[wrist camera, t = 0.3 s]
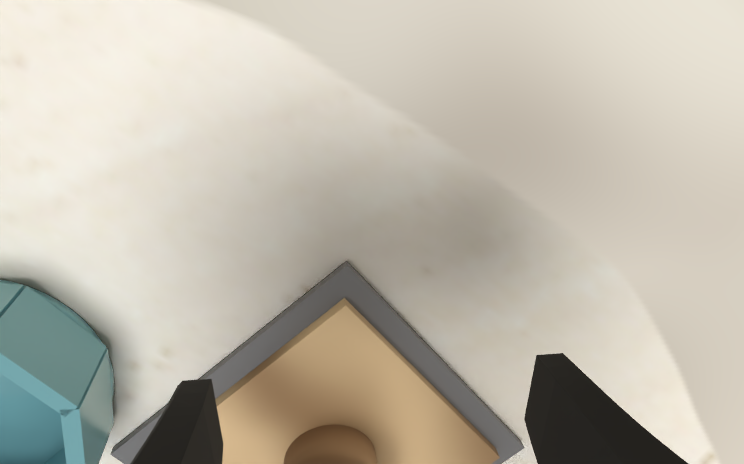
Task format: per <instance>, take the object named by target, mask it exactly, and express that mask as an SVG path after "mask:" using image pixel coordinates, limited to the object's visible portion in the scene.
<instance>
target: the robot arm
mask: <svg viewBox="0 0 744 464" xmlns="http://www.w3.org/2000/svg"><path fill="white" fill-rule="evenodd" d="M525 423H526V426H527V430H528V433H529V437H530V440H531V444H532V447H533V450H534V453H535V456H536V459H537V463H538V464H688V463H687V462H685V461H684V460H683V459H682V458H680V457H679V456H678V455H676V454H675V453H674V452H673V451H671V450H670V449H669V448H668V447H666V446H665V445H664V444H663V443H662V442H660V441H659V440H658V439H657V438H655V437H654V436H653V435H652V434H651V433H649V432H648V431H647V430H646V429H645V428H643V427H642V426H641V425H640V424H639V423H638V422H636V421H635V420H634V419H633V418H632V417H631V416H630V415H629V414H627V413H626V412H625V411H624V410H623V409H622V408H621V407H620V406H618V405H617V404H616V403H615V402H614V401H613V400H612V399H611V398H610V397H609V396H608V395H606V394H605V393H604V392H603V391H602V390H601V389H600V388H599V387H598V386H597V385H596V384H595V383H594V382H593V381H592V380H591V379H589V378H588V377H587V376H586V375H585V374H584V373H583V372H582V371H581V370H580V369H579V368H578V367H577V366H576V365H575V364H574V363H573V362H572V361H570V360H569V359H568V358H567V357H566V356H565V355H564V354H563V353H560V354H546V355H537V356H536V361H535V366H534V371H533V377H532V382H531V387H530V392H529V398H528V403H527V408H526V414H525ZM222 458H223V439H222V433H221V428H220V422H219V417H218V411H217V406H216V400H215V395H214V389H213V384H212V379H202V380H188V381H182V382H181V383H180V384H179V385H178V386H177V388H176V390H175V392H174V394H173V396H172V397H171V399H170V401H169V403H168V405H167V406H166V408H165V410H164V411H163V413H162V415H161V417H160V418H159V420H158V421H157V423H156V425H155V426H154V428H153V430H152V431H151V433H150V435H149V436H148V438H147V439H146V441H145V442H144V444H143V445H142V447H141V448H140V450H139V451H138V453H137V454H136V456H135V457H134V459H133V460H132V462H131V463H130V464H222Z"/></svg>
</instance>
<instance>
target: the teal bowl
mask: <svg viewBox="0 0 744 464" xmlns="http://www.w3.org/2000/svg"><path fill="white" fill-rule="evenodd" d="M106 347H107V346H106V345H104V344H103V343H102V342H101V340H100V339H99V337H98V336H97V334H96V333H95V332H94V330H93V329H92V328H91V327H90V326H89V325H88V324H87V323H86V322H85V321H84V320H83V319H82V318H81V317H80V316H79V315H78V314H76V313H75V312H74V311H73V310H72V309H70V308H69V307H67V306H66V305H64V304H63V303H61V302H60V301H58V300H56V299H55V298H53V297H51V296H49V295H47V294H45V293H43V292H41V291H38V290H36V289H33V288H31V287H28V286H25V285H22V284H18V283H15V282H12V281H7V280H1V279H0V464H99V461H100V458H101V456H102V453H103V451H104V448H105V445H106V443H107V440H108V437H109V435H110V432H111V430H112V427H113V424H114V418H113V405H112V401H113V395H114V374H113V367H112V364H111V361H110V358H109V354H108V349H106Z"/></svg>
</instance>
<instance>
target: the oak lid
mask: <svg viewBox="0 0 744 464" xmlns="http://www.w3.org/2000/svg"><path fill="white" fill-rule="evenodd" d="M215 400H216V406H217V411H218V417H219V422H220V428H221V433H222V439H223V458H222V464H492V463H493V462H494V461H496V460H497V459H499V458H500V457H499V454H498V452H497V450H496V448H495V447H494V446H493V445H492V444H491V443H490V442H489V441H488V440H487V439H486V438H485V437H484V436H483V435H482V434H481V433H480V432H479V431H478V430H477V429H476V428H475V427H474V426H473V425H472V424H471V423H470V422H469V421H468V420H467V419H466V418H465V417H464V416H463V415H462V414H461V413H460V412H459V411H458V410H457V409H456V408H455V407H454V406H453V405H452V404H451V403H450V402H449V401H448V400H447V399H446V398H445V397H444V396H443V395H442V394H441V393H440V392H439V391H438V390H437V389H436V388H435V387H434V386H433V385H432V384H431V383H430V382H429V381H428V380H427V379H426V378H425V377H424V376H423V375H422V374H421V373H420V372H419V371H418V370H417V369H416V368H415V367H414V366H413V365H412V364H411V363H410V362H409V361H408V360H407V359H406V358H405V357H404V356H402V355H401V354H400V353H399V352H398V351H397V350H396V349H395V348H394V347H393V346H392V345H391V344H390V343H389V342H388V341H387V340H386V339H385V338H384V337H383V336H382V335H381V334H380V333H379V332H378V331H377V330H376V329H375V328H374V327H373V326H372V325H371V324H370V323H369V322H368V321H367V320H366V319H365V318H364V317H363V316H362V315H361V314H360V313H359V312H358V311H357V310H356V309H355V308H354V307H353V306H352V305H351V304H350V303H349V302H348V301H347V300H346V299H345V298H343V299H342V300H341V301H340V302H338V303H337V304H336V305H335V306H333V307H332V308H331V309H329V310H328V311H327V312H326V313H324V314H323V315H322V316H321V317H319V318H318V319H317V320H315V321H314V322H313V323H312V324H310V325H309V326H308V327H307V328H305V329H304V330H303V331H302V332H300V333H299V334H298V335H296V336H295V337H294V338H293V339H291V340H290V341H289V342H288V343H286V344H285V345H284V346H282V347H281V348H280V349H279V350H277V351H276V352H275V353H274V354H272V355H271V356H270V357H268V358H267V359H266V360H265V361H263V362H262V363H261V364H260V365H258V366H257V367H256V368H254V369H253V370H252V371H251V372H249V373H248V374H247V375H246V376H244V377H243V378H242V379H241V380H239V381H238V382H237V383H235V384H234V385H233V386H232V387H230V388H229V389H228V390H227V391H225V392H224V393H223V394H221V395H220V396H219V397H218V398H216V399H215Z"/></svg>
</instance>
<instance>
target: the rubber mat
mask: <svg viewBox="0 0 744 464" xmlns="http://www.w3.org/2000/svg"><path fill="white" fill-rule="evenodd" d="M343 298H345V299H346V300H347V301H348V302H349V303H350V304H351V305H352V306H353V307H354V308H355V309H356V310H357V311H358V312H359V313H360V314H361V315H362V316H363V317H364V318H365V319H366V320H367V321H368V322H369V323H370V324H371V325H372V326H373V327H374V328H375V329H376V330H377V331H378V332H379V333H380V334H381V335H382V336H383V337H384V338H385V339H386V340H387V341H388V342H389V343H390V344H391V345H392V346H393V347H394V348H395V349H396V350H397V351H398V352H399V353H400V354H401V355H402V356H404V357H405V358H406V359H407V360H408V361H409V362H410V363H411V364H412V365H413V366H414V367H415V368H416V369H417V370H418V371H419V372H420V373H421V374H422V375H423V376H424V377H425V378H426V379H427V380H428V381H429V382H430V383H431V384H432V385H433V386H434V387H435V388H436V389H437V390H438V391H439V392H440V393H441V394H442V395H443V396H444V397H445V398H446V399H447V400H448V401H449V402H450V403H451V404H452V405H453V406H454V407H455V408H456V409H457V410H458V411H459V412H460V413H461V414H462V415H463V416H464V417H465V418H466V419H467V420H468V421H469V422H470V423H471V424H472V425H473V426H474V427H475V428H476V429H477V430H478V431H479V432H480V433H481V434H482V435H483V436H484V437H485V438H486V439H487V440H488V441H489V442H490V443H491V444H492V445H493V446H494V447H495V448H496V450H497V452H498V454H499V457H500V458H499V459H497V460H496V461H494V462H493V463H492V464H502V463H503V462H504V461H506V460H507V459H509V458H510V457H512V456H513V455H515V454H516V453H517V452H519V451H520V450H522V449H523V448H524V446H523V444H522V442H521V441H520V440H519V439H518V438H517V437H516V436H515V435H514V434H513V432H512V431H511V430H510V429H509V428H508V427H507V426H506V425H505V424H504V423H503V422H502V421H501V420H500V419H499V418H498V417H497V416H496V415H495V414H494V413H493V412H492V411H491V410H490V409H489V408H488V407H487V406H486V405H485V404H484V403H483V402H482V400H481V399H480V398H479V397H478V396H477V395H476V394H475V393H474V392H473V391H472V390H471V389H470V388H469V387H468V386H467V385H466V384H465V383H464V382H463V381H462V380H461V379H460V378H459V377H458V376H457V375H456V374H455V373H454V372H453V371H452V369H451V368H450V367H449V366H448V365H447V364H446V363H445V362H444V361H443V360H442V359H441V358H440V357H439V356H438V355H437V354H436V353H435V352H434V351H433V350H432V349H431V348H430V347H429V346H428V345H427V344H426V343H425V342H424V341H423V340H422V338H421V337H420V336H419V335H418V334H417V333H416V332H415V331H414V330H413V329H412V328H411V327H410V326H409V325H408V324H407V323H406V322H405V321H404V320H403V319H402V318H401V317H400V316H399V315H398V314H397V313H396V312H395V311H394V310H393V309H392V307H391V306H390V305H389V304H388V303H387V302H386V301H385V300H384V299H383V298H382V297H381V296H380V295H379V294H378V293H377V292H376V291H375V290H374V289H373V288H372V287H371V286H370V285H369V284H368V283H367V282H366V281H365V280H364V279H363V278H362V276H361V275H360V274H359V273H358V272H357V271H356V270H355V269H354V268H353V267H352V266H351V265H350V264H349V263H348V262H347V261H346V262H345V263H344V264H342V265H341V266H340V267H339V268H337V269H336V270H335V271H334V272H332V273H331V274H330V275H329V276H327V277H326V278H325V279H324V280H322V281H321V282H320V283H319V284H317V285H316V286H315V287H314V288H312V289H311V290H310V291H308V292H307V293H306V294H305V295H303V296H302V297H301V298H300V299H298V300H297V301H296V302H295V303H293V304H292V305H291V306H290V307H288V308H287V309H286V310H285V311H283V312H282V313H281V314H280V315H278V316H277V317H276V318H275V319H273V320H272V321H271V322H270V323H268V324H267V325H266V326H265V327H263V328H262V329H261V330H260V331H258V332H257V333H256V334H255V335H253V336H252V337H251V338H250V339H248V340H247V341H246V342H245V343H243V344H242V345H241V346H240V347H238V348H237V349H236V350H235V351H233V352H232V353H231V354H230V355H228V356H227V357H226V358H225V359H223V360H222V361H221V362H220V363H218V364H217V365H216V366H215V367H213V368H212V369H211V370H210V371H208V372H207V373H206V374H205V375H203V376H202V377H201V378H200V379H198V380H202V379H212V384H213V389H214V395H215V399H216V398H218V397H219V396H220V395H221V394H223V393H224V392H225V391H227V390H228V389H229V388H230V387H232V386H233V385H234V384H235V383H237V382H238V381H239V380H241V379H242V378H243V377H244V376H246V375H247V374H248V373H249V372H251V371H252V370H253V369H254V368H256V367H257V366H258V365H260V364H261V363H262V362H263V361H265V360H266V359H267V358H268V357H270V356H271V355H272V354H274V353H275V352H276V351H277V350H279V349H280V348H281V347H282V346H284V345H285V344H286V343H288V342H289V341H290V340H291V339H293V338H294V337H295V336H296V335H298V334H299V333H300V332H302V331H303V330H304V329H305V328H307V327H308V326H309V325H310V324H312V323H313V322H314V321H315V320H317V319H318V318H319V317H321V316H322V315H323V314H324V313H326V312H327V311H328V310H329V309H331V308H332V307H333V306H335V305H336V304H337V303H338V302H340V301H341V300H342V299H343ZM167 405H168V404H167ZM167 405H166V406H167ZM166 406H165V407H163V408H162V409H161V410H160V411H158V412H157V413H156V414H155V415H153V416H152V417H151V418H150V419H148V420H147V421H146V422H145V423H143V424H142V425H141V426H140V427H138V428H137V429H136V430H135V431H133V432H132V433H131V434H129V435H128V436H127V437H126V438H124V439H123V440H122V441H121V442H119V443H118V444H117V445H116V446H114V447H113V449H112V452H111V455H112V456H114V457H115V458H117V459H118V460H120V461H121V462H122V463H124V464H130V463H131V462H132V460H133V459H134V457H135V456H136V454H137V453H138V451H139V450H140V448H141V447H142V445H143V444H144V442H145V441H146V439H147V438H148V436H149V435H150V433H151V431H152V430H153V428H154V426H155V425H156V423H157V421H158V420H159V418H160V417H161V415H162V413H163V411H164V410H165V408H166Z"/></svg>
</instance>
